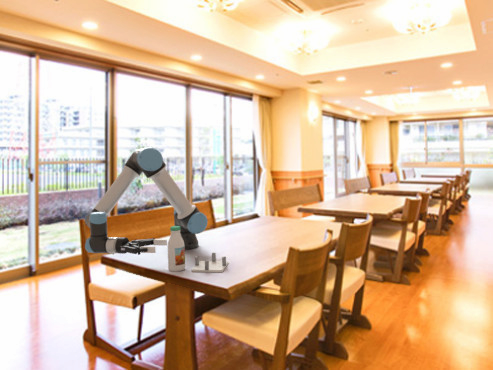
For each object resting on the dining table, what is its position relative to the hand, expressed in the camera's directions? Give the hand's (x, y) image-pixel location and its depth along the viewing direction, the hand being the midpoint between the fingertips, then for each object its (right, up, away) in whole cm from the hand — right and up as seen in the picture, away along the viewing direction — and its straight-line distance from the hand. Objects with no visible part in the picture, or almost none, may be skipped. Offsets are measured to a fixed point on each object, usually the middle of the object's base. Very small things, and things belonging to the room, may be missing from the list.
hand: (161, 245), depth 162 cm
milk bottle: (+7, -11, 0) cm, 13 cm away
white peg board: (+23, -10, +2) cm, 25 cm away
